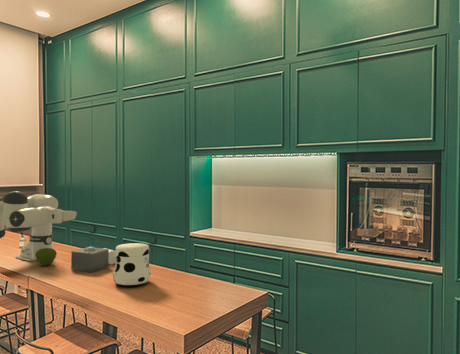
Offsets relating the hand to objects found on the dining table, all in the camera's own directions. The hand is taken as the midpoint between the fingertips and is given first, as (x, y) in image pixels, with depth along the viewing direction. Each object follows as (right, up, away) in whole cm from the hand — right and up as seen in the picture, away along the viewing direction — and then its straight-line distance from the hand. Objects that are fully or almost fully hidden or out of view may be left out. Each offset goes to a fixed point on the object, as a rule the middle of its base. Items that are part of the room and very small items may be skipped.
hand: (68, 213), depth 185 cm
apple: (-22, -32, +20) cm, 44 cm away
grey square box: (+5, -32, +15) cm, 36 cm away
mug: (+12, -32, +30) cm, 46 cm away
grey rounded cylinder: (+5, -31, +15) cm, 35 cm away
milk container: (+36, -33, -12) cm, 50 cm away
